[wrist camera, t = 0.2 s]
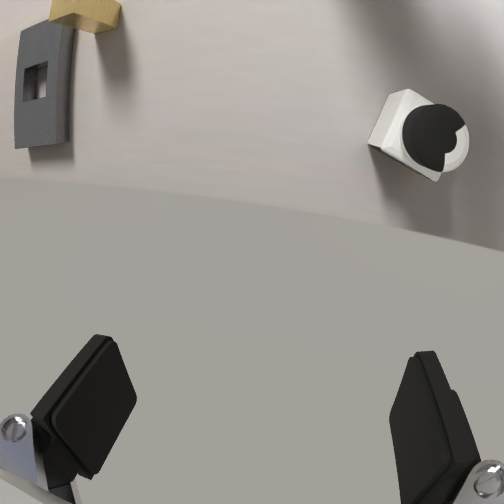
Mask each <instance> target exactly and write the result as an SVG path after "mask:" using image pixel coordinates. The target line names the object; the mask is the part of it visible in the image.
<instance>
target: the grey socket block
mask: <svg viewBox="0 0 504 504" xmlns="http://www.w3.org/2000/svg"><path fill="white" fill-rule="evenodd" d="M74 31H75V28H72V27H68V26H64V25H60V24H56V23H52V22H49V19H48V20H45V21H43V22H40V23H38V24H36V25H34V26H31V27H29V28H27V29H25V30H23V31H21V35H20V42H19V50H18V59H17V69H16V82H15V105H14V136H15V149H20V148H27V147H34V146H42V145H51V144H58V143H63V142H69V87H70V71H71V59H72V48H73V39H74ZM46 66H48V68H47V83H46V97H43V98H39V99H35V98H36V78H37V69H39V68H42V67H46Z"/></svg>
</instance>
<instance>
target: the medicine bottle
mask: <svg viewBox="0 0 504 504" xmlns="http://www.w3.org/2000/svg"><path fill="white" fill-rule="evenodd" d="M368 145H369V146H370V147H372V148H374V149H376V150H378V151H379V152H381V153H383V154H385V155H387V156H388V157H390V158H392V159H394V160H396V161H397V162H399V163H401V164H403V165H404V166H406V167H408V168H409V169H411V170H413V171H414V172H416V173H419V174H421V175H423V176H425V177H427V178H429V179H431V180H433V181H435V182H436V181H438V180H439V178H440V176H441V173H442V172H449V171H452V170H454V169H456V168H457V167H458V166H459V165H460V164H461V163H462V162H463V161H464V159H465V157H466V155H467V153H468V149H469V133H468V129H467V127H466V124H465V122H464V120H463V119H462V118H461V116H460V115H459V114H458V113H457V112H456V111H455V110H453V109H452V108H450V107H448V106H446V105H442V104H433V103H432V102H430V101H428V100H427V99H425V98H424V97H422V96H421V95H419V94H417V93H416V92H414V91H412V90H411V89H405V90H402V91H398V92H395V93H392V94H389V96H388V98H387V101H386V103H385V105H384V107H383V110H382V112H381V114H380V116H379V119H378V121H377V123H376V125H375V127H374V130H373V132H372V134H371V136H370V138H369V141H368Z"/></svg>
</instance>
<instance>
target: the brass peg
mask: <svg viewBox="0 0 504 504" xmlns="http://www.w3.org/2000/svg"><path fill="white" fill-rule="evenodd" d="M120 6H121V4H120V3H118V2H116V1H114V0H53V1H52V6H51V11H50V17H49V22H52V23H56V24H60V25H64V26H68V27H72V28H76V29H80V30H83V31H87V32H90V33H94V34H95V33H99V32H103V31H108V30H112V29H116V28H118V21H119V13H120Z"/></svg>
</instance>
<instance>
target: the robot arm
mask: <svg viewBox="0 0 504 504" xmlns="http://www.w3.org/2000/svg"><path fill="white" fill-rule="evenodd" d="M136 401H137V396H136V393H135V390H134V388H133V385H132V383H131V381H130V378H129V375H128V373H127V370H126V367H125V365H124V362H123V360H122V357H121V354H120V351H119V348H118V345H117V343H116V342H114V340H113V339H112V338H111V337H109V336H104V335H98V334H96V335H94V336H93V337H92V338H91V339H90V340H89V341H88V343H87V344H86V345H85V346H84V347H83V349H82V350H81V351H80V352H79V353H78V354H77V356H76V357H75V358H74V359H73V360H72V362H71V363H70V364H69V365H68V366H67V368H66V369H65V370H64V371H63V373H62V374H61V375H60V376H59V378H58V379H57V380H56V381H55V382H54V384H53V385H52V386H51V387H50V389H49V390H48V391H47V392H46V394H45V395H44V396H43V397H42V399H41V400H40V401H39V402H38V404H37V405H36V406H35V408H34V409H33V410H32V412H31V413H30V414H31V415H32V416H33V418H32V419H31V420H30V419H29V418H28V417H27V416H26V415H24V414H20V413H19V414H13V415H10V416H8V417H7V418H5V419H4V420H3V421H2V422H1V424H0V504H82V503H81V500H80V496H79V492H78V489H77V485H76V481H75V477H76V475H77V473H78V474H79V475H80V476H83V477H85V478H88V479H90V480H91V479H92V478H93V476H94V474H97V473H99V471H100V469H101V467H102V465H103V464H104V462H105V460H106V458H107V456H108V454H109V452H110V450H111V448H112V446H113V445H114V443H115V441H116V439H117V437H118V436H119V433H120V432H121V430H122V428H123V426H124V424H125V422H126V421H127V419H128V417H129V415H130V413H131V412H132V410H133V408H134V406H135V404H136ZM389 422H390V428H391V434H392V439H393V446H394V452H395V459H396V466H397V473H398V481H399V489H400V498H401V504H504V464H503V463H501V462H500V461H497V460H484V461H482V462H481V459H480V455H479V452H478V449H477V446H476V443H475V440H474V437H473V434H472V431H471V429H470V426H469V423H468V421H467V418H466V415H465V412H464V410H463V407H462V404H461V402H460V399H459V397H458V395H457V393H456V392H455V391H454V390H451V389H450V386H449V384H448V381H447V379H446V376H445V374H444V371H443V369H442V367H441V364H440V362H439V360H438V358H437V355H436V353H435V352H434V351H424V352H416V353H415V355H414V357H410V358H409V360H408V363H407V366H406V369H405V372H404V375H403V378H402V381H401V384H400V387H399V390H398V393H397V396H396V398H395V401H394V404H393V406H392V409H391V412H390V417H389Z"/></svg>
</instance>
